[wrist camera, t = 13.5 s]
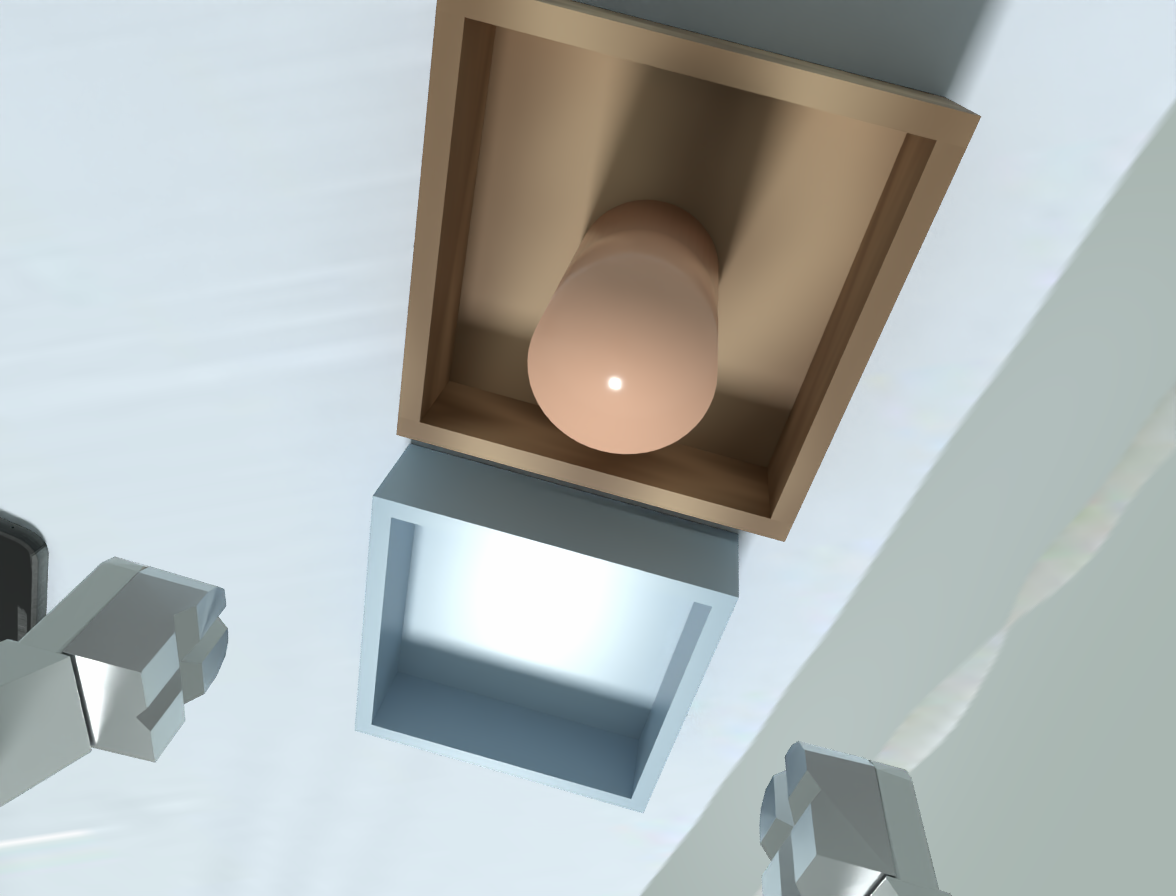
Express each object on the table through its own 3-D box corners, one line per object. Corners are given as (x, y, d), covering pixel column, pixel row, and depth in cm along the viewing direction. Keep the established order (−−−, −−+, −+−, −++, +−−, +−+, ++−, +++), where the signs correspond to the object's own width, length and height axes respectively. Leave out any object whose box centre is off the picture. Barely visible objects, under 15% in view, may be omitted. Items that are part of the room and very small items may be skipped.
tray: (433, 386, 31) (396, 434, 28) (481, -23, 24) (439, -25, 20) (779, 481, 31) (784, 541, 28) (945, 97, 23) (981, 116, 20)
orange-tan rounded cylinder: (548, 248, 27) (490, 340, 20) (672, 170, 25) (654, 243, 18) (623, 361, 29) (593, 480, 22) (744, 297, 27) (752, 406, 20)
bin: (386, 668, 41) (354, 730, 37) (410, 443, 33) (372, 495, 30) (651, 744, 40) (643, 813, 37) (738, 534, 33) (738, 597, 29)
